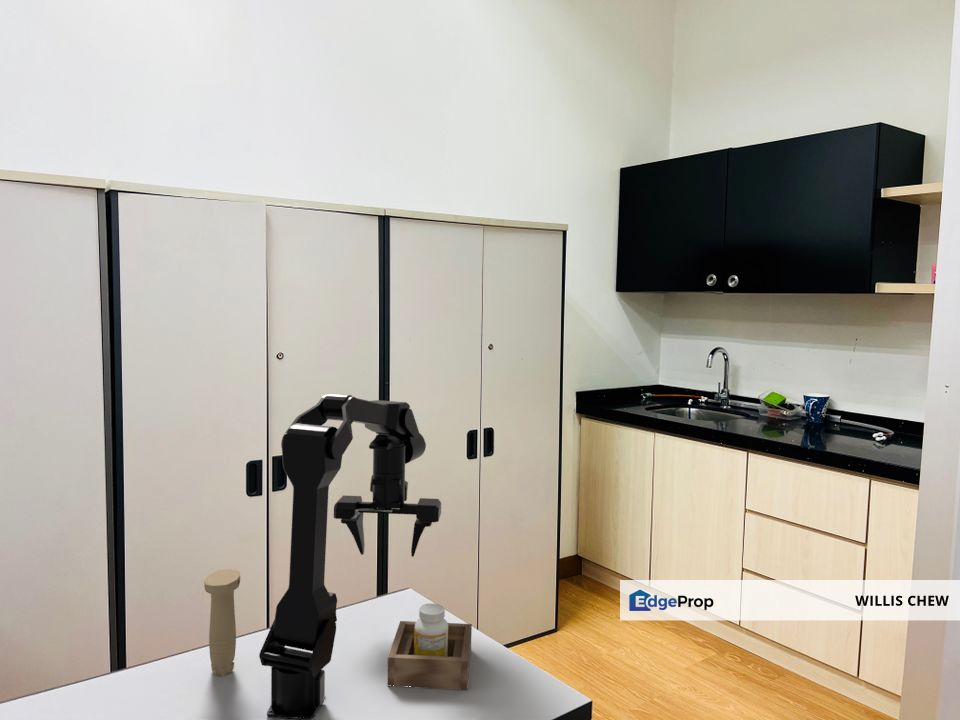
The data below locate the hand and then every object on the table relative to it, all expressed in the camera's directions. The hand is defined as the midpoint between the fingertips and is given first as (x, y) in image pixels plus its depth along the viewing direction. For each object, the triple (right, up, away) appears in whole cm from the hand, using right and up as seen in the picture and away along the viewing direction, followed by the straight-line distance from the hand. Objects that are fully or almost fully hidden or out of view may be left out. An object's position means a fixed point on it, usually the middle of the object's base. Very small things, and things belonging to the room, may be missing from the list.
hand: (387, 554), depth 124 cm
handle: (-23, -13, -18) cm, 32 cm away
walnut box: (+9, -13, -15) cm, 22 cm away
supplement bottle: (+9, -14, -15) cm, 22 cm away
